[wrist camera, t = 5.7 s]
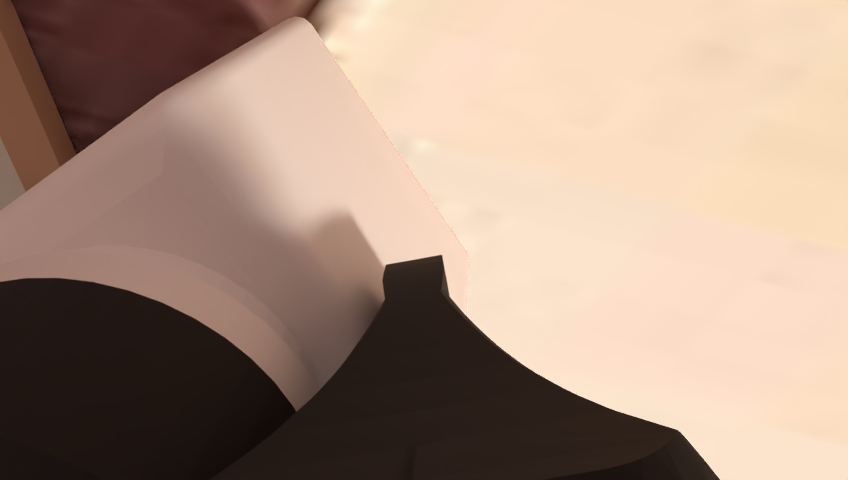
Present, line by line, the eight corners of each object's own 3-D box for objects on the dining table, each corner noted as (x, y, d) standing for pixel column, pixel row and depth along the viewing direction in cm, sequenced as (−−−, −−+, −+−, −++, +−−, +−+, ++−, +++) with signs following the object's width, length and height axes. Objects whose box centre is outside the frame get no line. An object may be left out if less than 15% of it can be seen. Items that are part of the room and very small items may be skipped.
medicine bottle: (81, 168, 17) (-586, 605, 7) (305, 6, 15) (-148, 266, 4) (259, 372, 20) (-19, 940, 9) (476, 257, 17) (452, 826, 7)
